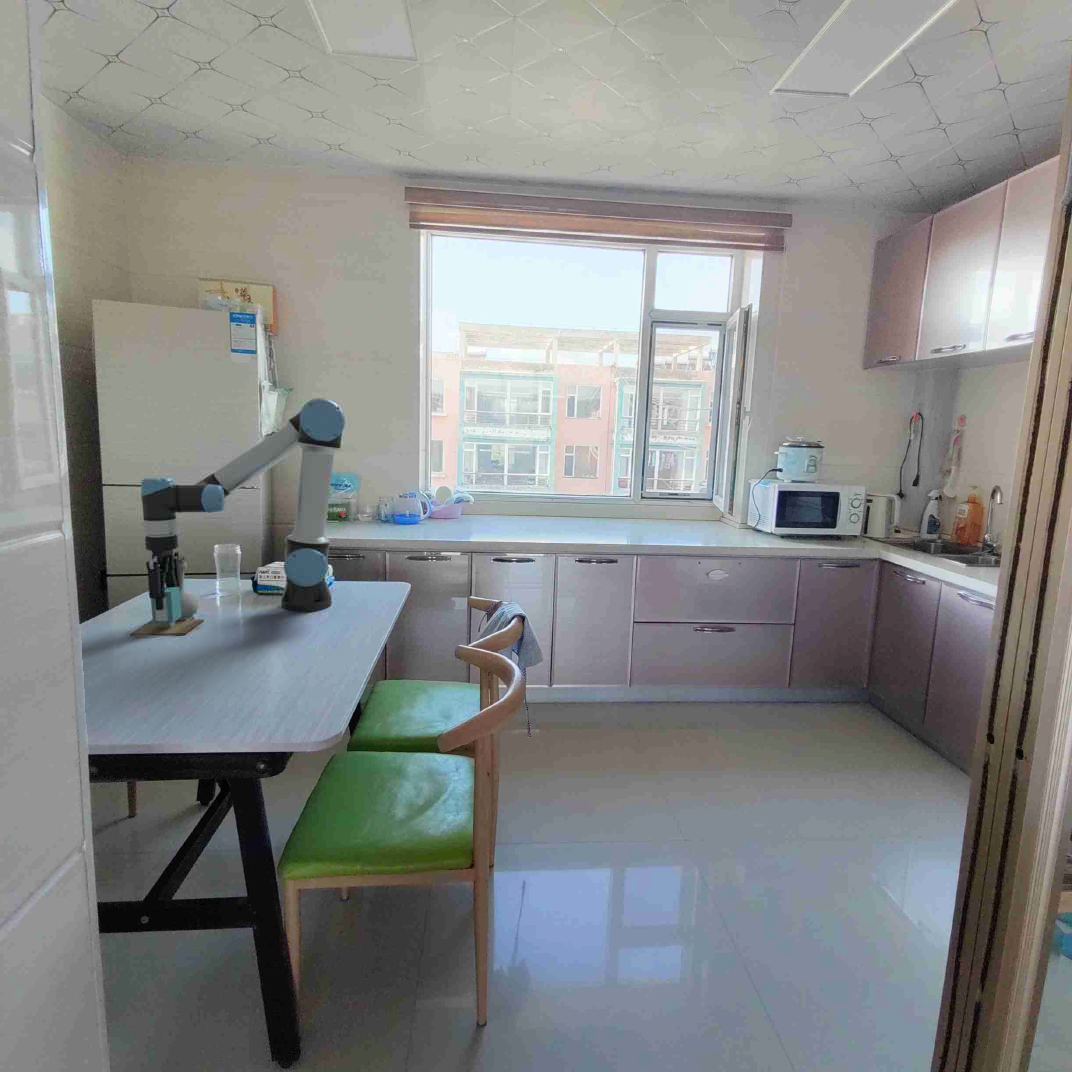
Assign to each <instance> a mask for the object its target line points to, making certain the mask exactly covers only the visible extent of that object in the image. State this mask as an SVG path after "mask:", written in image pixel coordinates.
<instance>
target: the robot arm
mask: <svg viewBox="0 0 1072 1072" xmlns="http://www.w3.org/2000/svg"><path fill="white" fill-rule="evenodd" d="M345 425H346V419H345V413H344V411H343V410H342V408H341V407H340V405H339V404H338V403H336V402H335V401H333V400H331V399H329V398H326V397H324V398H323V397H317V398H313V399H310V400H309V401H307V402H306V403H305V404H304V405H303V406H302V408H301V410H300V411H299V412H298V413H296V415H294V416H292V417H291V418H289V419H288V420H287V423H286V425H285V426H283V427H282V428H280V429H279V430H278V431H276V432H275V433H273V434H271V435H269V436H268V437H267V438H265V439H264V440H262V441H261V442H258V443H257V444H256V445H254V446H253V447H250V448H249V449H248V450H247V451H244V453H241V454H240V455H239V456H237V457H235V459H233V460H231V461H229V462H228V463H225V465H223V466H222V467H221V468H219V469H217V470H215V471H214V472H212V473H211V474H210V475H208V476H207V477H204V479H201V480H199V481H198V482H196V483H195V484H183V485H182V484H175V482H174V479H173V478H171V477H166V476H161V477H160V476H159V477H158V476H156V477H155V476H153V477H146V478H143V479H142V480H141V482H140V483H141V489H140V490H141V492H140V493H141V494H140V497H141V505H142V515H143V523H142V526H143V528H144V534H145V535H146V536H145V537H144V543H145V549H146V550H147V551H150V552H152V553H151V561H146V563H145V565H146V568H147V569H146V570H147V578H148V579H147V580H148V581H147V582H148V583H147V584H148V594H149V595H148V597H149V598H150V599H151V598H154V599H155V611H156V621H168V611H167V598H166V597H164V595H165V587H179V588H180V589H181V587H180V574H179V563H178V557H179V556H180V555H179V554H180V553H179V552H174V551H173V550H176V549H177V548H179V540H178V535H177V532H178V527H177V526H178V525H177V524H178V523H177V515H176V514H177V513H179V514H180V513H209V514H210V513H217V512H222V511H224V510H225V502H226V501H225V498H227V497H228V496H229V495H231V494H232V493H234V492H235V491H237V490H239V489H240V488H241V487H243V486H245V485H246V484H248V483H250V482H251V481H252V480H254V479H255V478H257V477H258V476H260V475H262V474H263V473H264V472H266V471H267V470H269V469H271V468H272V467H274V466H275V465H277V464H278V463H280V462H282V461H283V460H284V459H286V458H288V457H289V456H292V454H294V453H295V452H298V450H300V449H301V450H302V455H301V463H300V470H299V471H300V472H299V481H298V489H297V490H298V491H297V499H296V500H297V501H296V510H295V517H294V518H295V519H294V527H293V528H294V529H293V532H292V533H291V534H289V535H286V536H285V538H284V543H283V544H284V545H283V546H284V564H283V570H284V574H285V579H286V580H285V581H286V583H285V587H284V590H283V594H282V596H281V600H280V601H281V602H280V603H281V608H282V609H283V610H285V611H289V612H299V613H301V612H315V611H320V610H324V609H326V608H329V607H330V606H332V604H333V599H332V593H331V592H330V588H329V587H328V584H327V581H326V576H327V574H328V572H329V571H328V570H329V562H328V559H329V558H328V557H329V552H330V551H329V548H330V541H331V540H330V539H329V537H327V535H326V528H327V519H328V518H327V517H328V511H329V502H330V492H331V483H332V474H333V467H334V458H335V454H336V453H337V452H338V451H340V450H341V444H342V439H343V438H342V436H343V431H344V429H345Z"/></svg>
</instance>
